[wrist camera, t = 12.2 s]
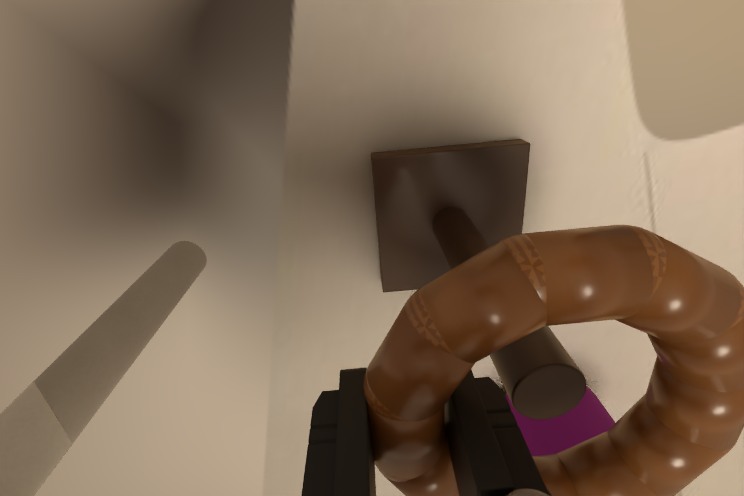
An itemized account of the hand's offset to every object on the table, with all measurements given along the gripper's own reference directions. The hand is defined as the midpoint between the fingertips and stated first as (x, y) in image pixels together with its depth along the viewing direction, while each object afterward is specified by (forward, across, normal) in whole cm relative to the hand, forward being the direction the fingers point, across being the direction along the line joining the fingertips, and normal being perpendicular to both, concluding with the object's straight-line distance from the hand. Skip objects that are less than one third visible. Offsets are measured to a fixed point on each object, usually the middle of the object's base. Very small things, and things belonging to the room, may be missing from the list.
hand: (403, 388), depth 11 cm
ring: (-1, -4, 0) cm, 4 cm away
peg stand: (+13, -4, 0) cm, 13 cm away
